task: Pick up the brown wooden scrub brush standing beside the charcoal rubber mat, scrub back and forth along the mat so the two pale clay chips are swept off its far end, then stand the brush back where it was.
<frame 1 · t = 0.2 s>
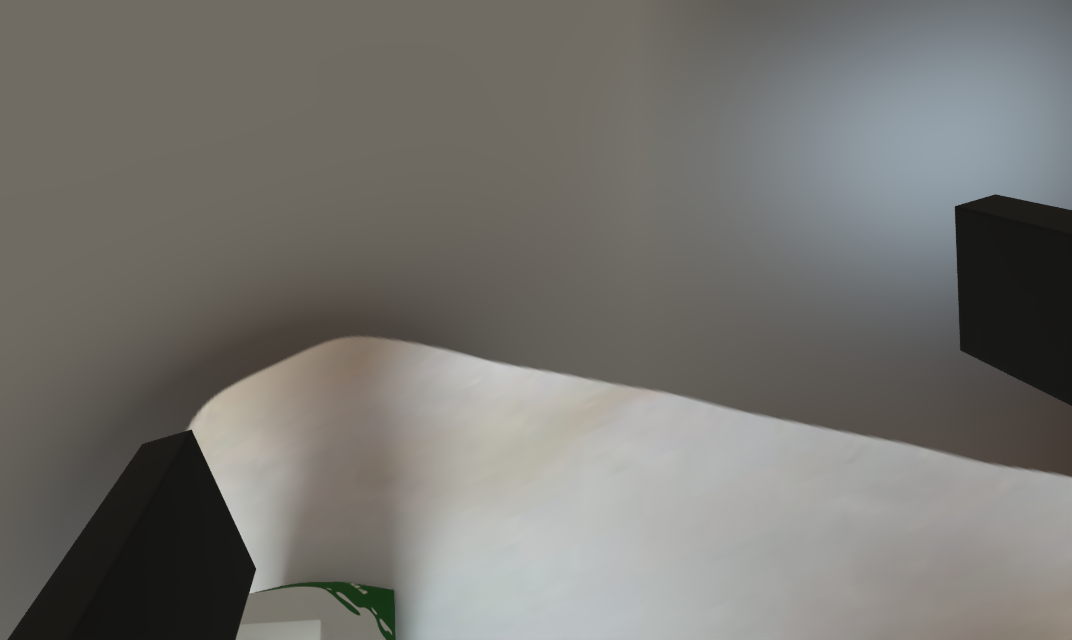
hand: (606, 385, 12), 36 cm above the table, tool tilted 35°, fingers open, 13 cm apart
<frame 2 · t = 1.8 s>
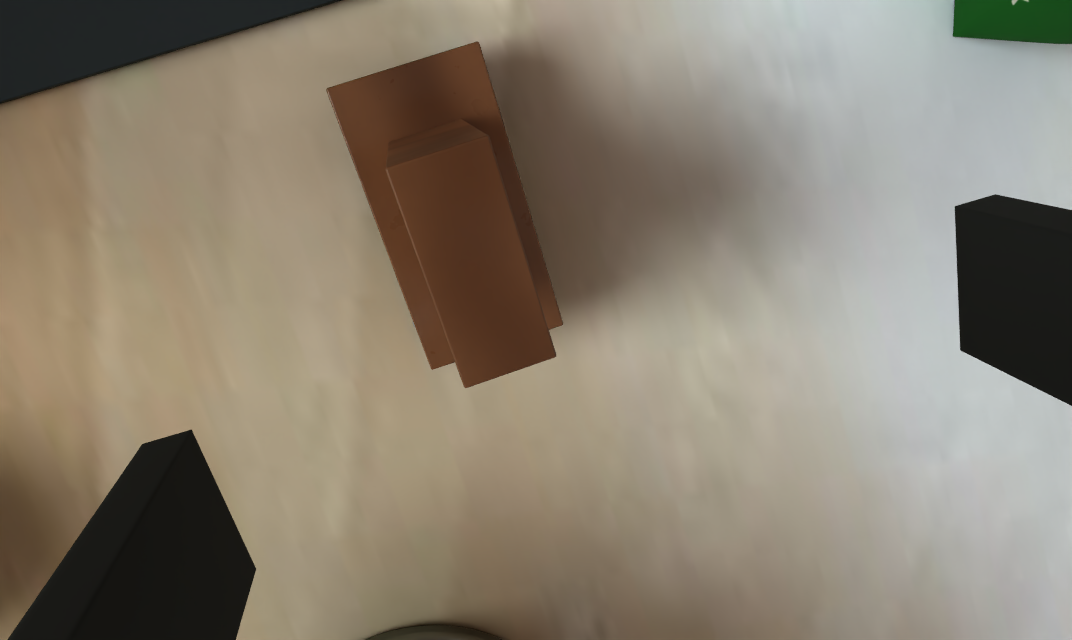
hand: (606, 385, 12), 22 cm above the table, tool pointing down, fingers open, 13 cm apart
scrub brush: (448, 203, 33), on the table
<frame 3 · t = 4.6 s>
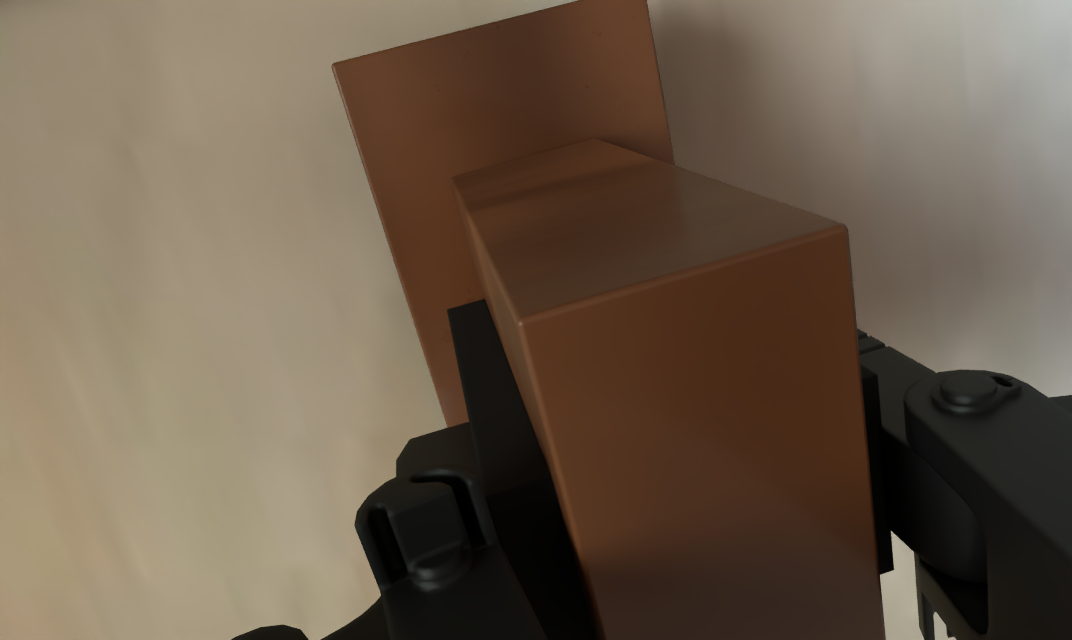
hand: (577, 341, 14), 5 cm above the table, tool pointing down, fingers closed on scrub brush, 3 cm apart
scrub brush: (536, 279, 19), on the table, touching gripper
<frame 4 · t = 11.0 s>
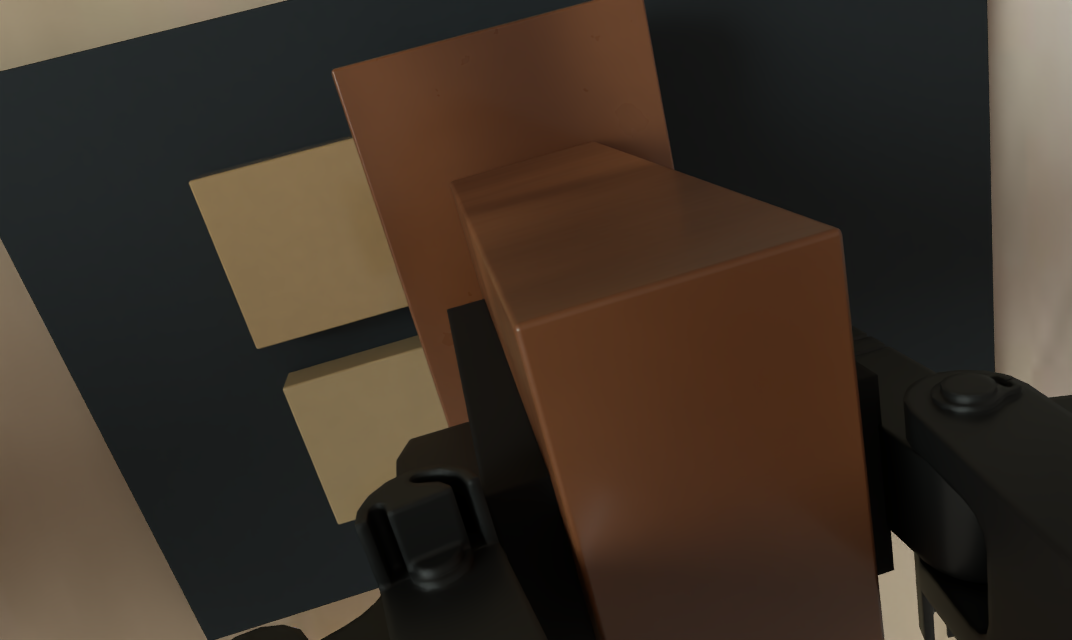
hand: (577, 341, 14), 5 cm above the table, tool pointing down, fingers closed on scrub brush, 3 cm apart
clay chip b: (316, 235, 17), point 1 cm above the table, touching mat
clay chip a: (390, 418, 19), point 1 cm above the table, touching mat
scrub brush: (537, 282, 19), point 1 cm above the table, touching gripper
mat: (557, 264, 19), on the table
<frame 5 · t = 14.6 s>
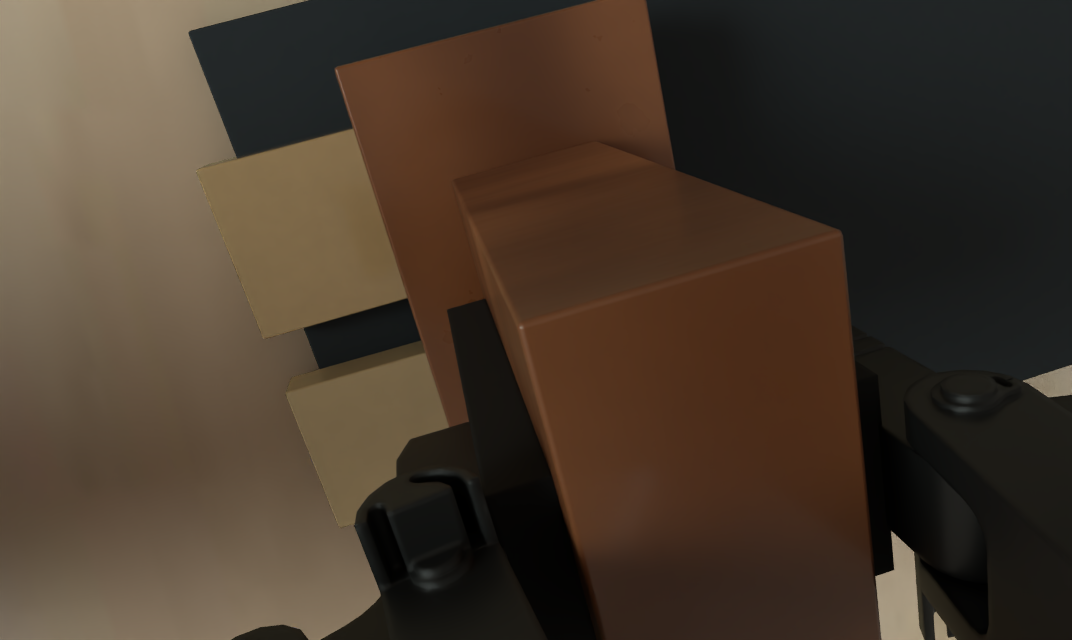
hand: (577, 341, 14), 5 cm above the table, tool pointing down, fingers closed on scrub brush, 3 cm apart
clay chip b: (323, 225, 17), point 1 cm above the table, touching scrub brush
clay chip a: (392, 422, 19), point 1 cm above the table, touching mat
scrub brush: (537, 281, 19), point 1 cm above the table, touching clay chip b, gripper
mat: (750, 209, 20), on the table
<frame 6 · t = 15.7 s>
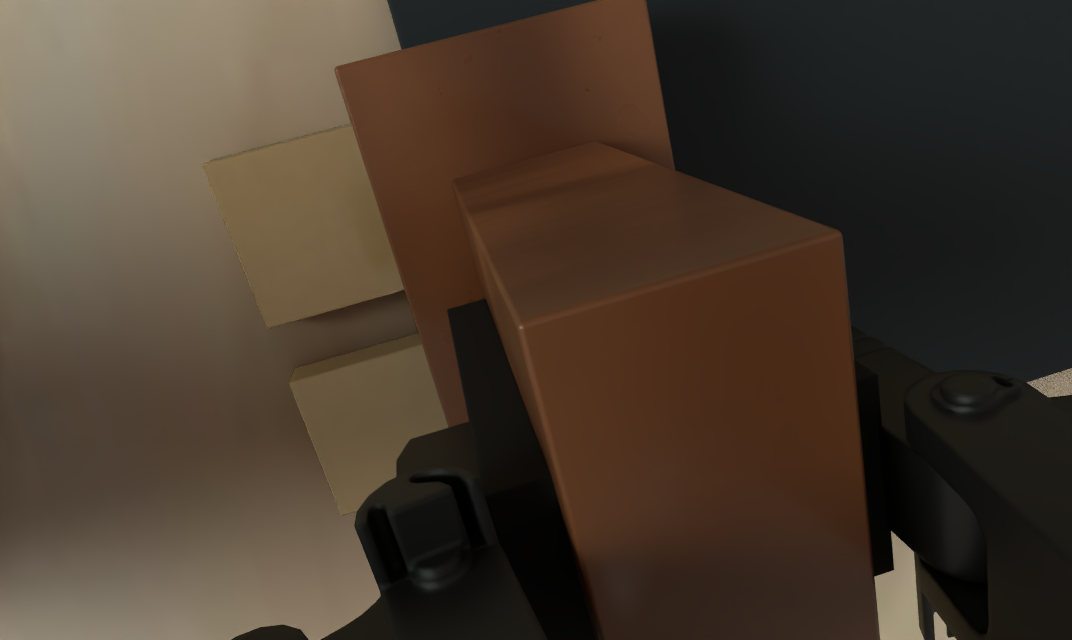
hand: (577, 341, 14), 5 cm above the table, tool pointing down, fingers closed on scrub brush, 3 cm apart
clay chip b: (325, 219, 18), on the table, touching scrub brush
clay chip a: (392, 412, 20), on the table, touching scrub brush
scrub brush: (537, 281, 19), point 1 cm above the table, touching clay chip a, clay chip b, gripper
mat: (894, 169, 20), on the table
when the fingers open (5 cm above the table, at t = 22.0 s): scrub brush stays where it is, on the table.
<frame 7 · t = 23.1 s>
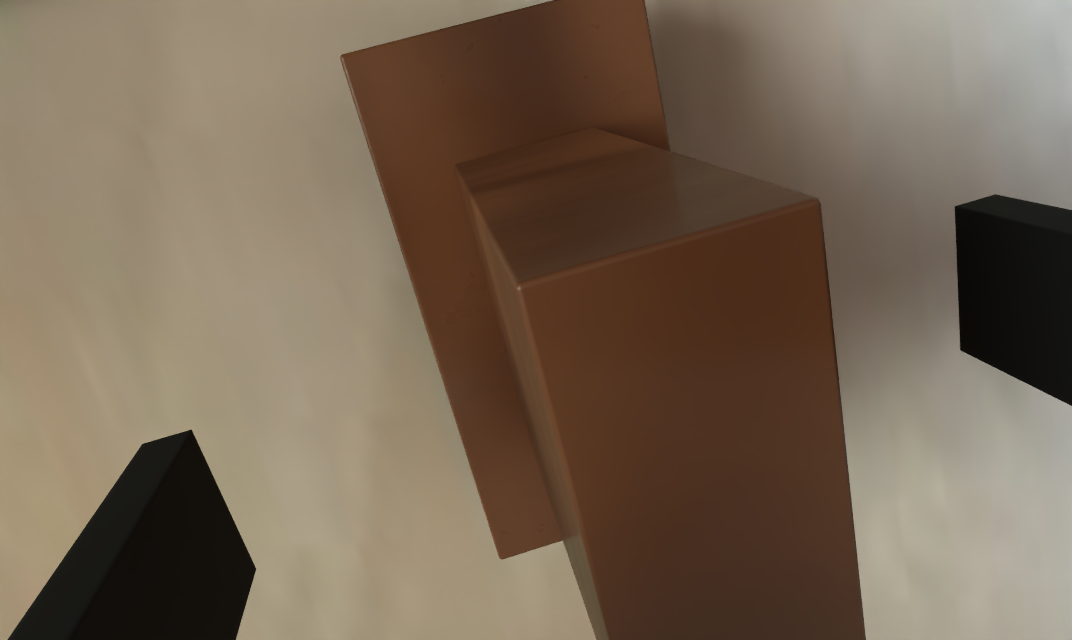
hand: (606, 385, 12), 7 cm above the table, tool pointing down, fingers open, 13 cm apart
scrub brush: (537, 266, 19), on the table
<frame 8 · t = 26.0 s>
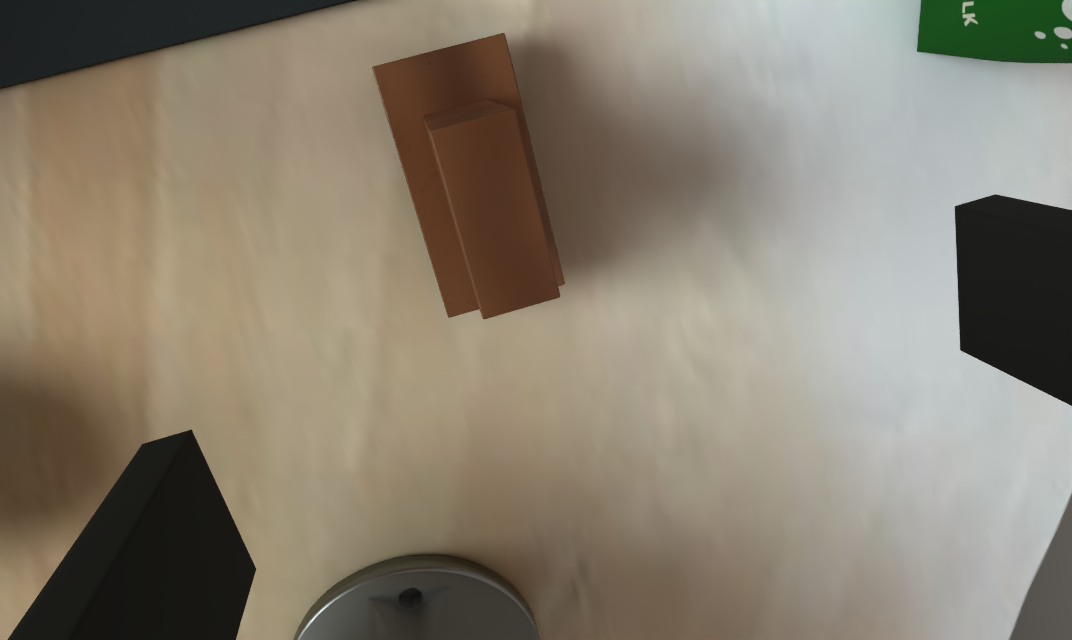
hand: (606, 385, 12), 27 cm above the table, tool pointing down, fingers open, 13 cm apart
scrub brush: (469, 174, 37), on the table
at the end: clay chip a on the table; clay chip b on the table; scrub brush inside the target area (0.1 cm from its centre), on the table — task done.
